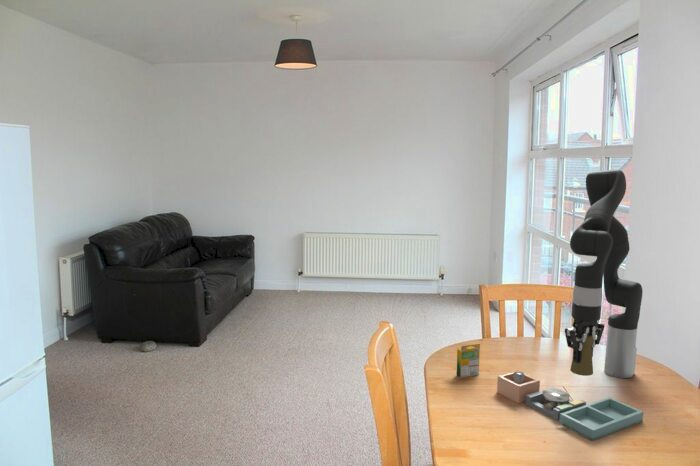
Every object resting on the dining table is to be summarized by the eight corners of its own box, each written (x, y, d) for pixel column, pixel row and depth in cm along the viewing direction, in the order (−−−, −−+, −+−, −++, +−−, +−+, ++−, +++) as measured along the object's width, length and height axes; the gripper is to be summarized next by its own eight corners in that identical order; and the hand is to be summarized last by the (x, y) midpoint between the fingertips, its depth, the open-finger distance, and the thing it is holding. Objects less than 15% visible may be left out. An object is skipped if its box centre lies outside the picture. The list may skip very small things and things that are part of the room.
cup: (517, 388, 182) (518, 370, 181) (538, 398, 174) (539, 380, 173) (496, 393, 177) (497, 375, 176) (518, 405, 170) (519, 386, 169)
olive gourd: (595, 376, 153) (598, 338, 152) (571, 374, 155) (574, 336, 153) (591, 368, 159) (593, 331, 157) (568, 366, 161) (571, 329, 159)
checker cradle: (552, 397, 175) (553, 386, 174) (585, 413, 165) (586, 401, 164) (525, 405, 169) (526, 394, 169) (557, 422, 159) (558, 410, 158)
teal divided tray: (608, 406, 169) (609, 396, 169) (642, 421, 160) (643, 411, 159) (559, 423, 158) (559, 413, 158) (592, 440, 149) (593, 430, 148)
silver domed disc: (553, 398, 172) (554, 386, 171) (574, 407, 165) (575, 396, 165) (536, 403, 168) (537, 391, 168) (556, 413, 162) (557, 401, 161)
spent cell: (517, 391, 178) (518, 370, 177) (525, 395, 175) (526, 374, 174) (510, 393, 176) (511, 372, 175) (517, 397, 173) (519, 376, 172)
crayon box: (474, 373, 194) (475, 341, 192) (479, 376, 191) (480, 344, 189) (456, 375, 192) (457, 343, 190) (460, 378, 189) (461, 346, 187)
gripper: (592, 295, 160) (588, 352, 163) (558, 301, 154) (553, 360, 156) (615, 302, 154) (610, 361, 156) (580, 308, 147) (575, 369, 150)
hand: (582, 360), depth 156 cm, fingers closed on olive gourd, 4 cm apart
